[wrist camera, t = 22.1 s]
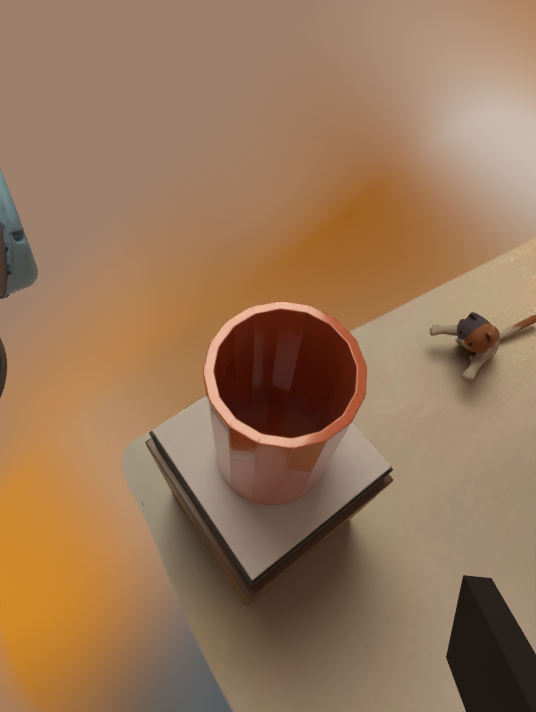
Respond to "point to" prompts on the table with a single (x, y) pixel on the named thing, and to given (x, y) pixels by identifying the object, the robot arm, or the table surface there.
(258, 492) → the cup
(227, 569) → the stand
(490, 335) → the toy
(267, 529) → the scale
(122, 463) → the table surface
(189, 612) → the table surface
